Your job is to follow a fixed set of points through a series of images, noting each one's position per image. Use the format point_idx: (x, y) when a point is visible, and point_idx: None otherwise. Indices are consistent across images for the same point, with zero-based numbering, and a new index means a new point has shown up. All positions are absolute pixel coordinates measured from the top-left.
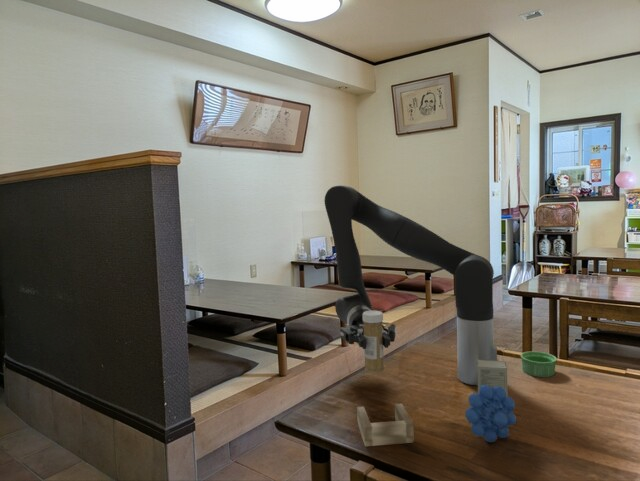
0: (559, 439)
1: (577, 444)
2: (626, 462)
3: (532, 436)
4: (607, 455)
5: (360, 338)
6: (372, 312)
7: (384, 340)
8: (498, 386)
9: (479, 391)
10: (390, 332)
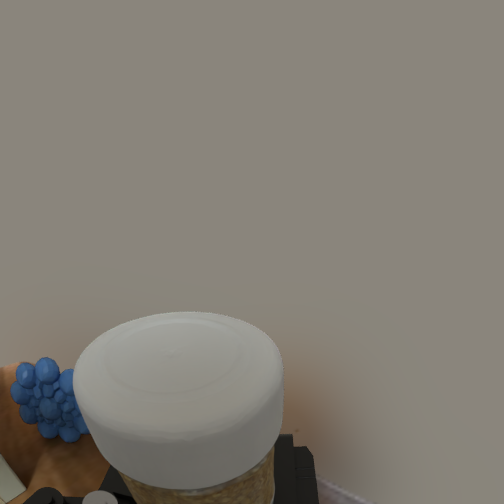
0: (4, 408)
1: (2, 396)
2: (7, 368)
3: (18, 425)
4: (5, 378)
5: (300, 484)
6: (169, 358)
7: None
8: (22, 364)
9: (57, 370)
10: (64, 497)
